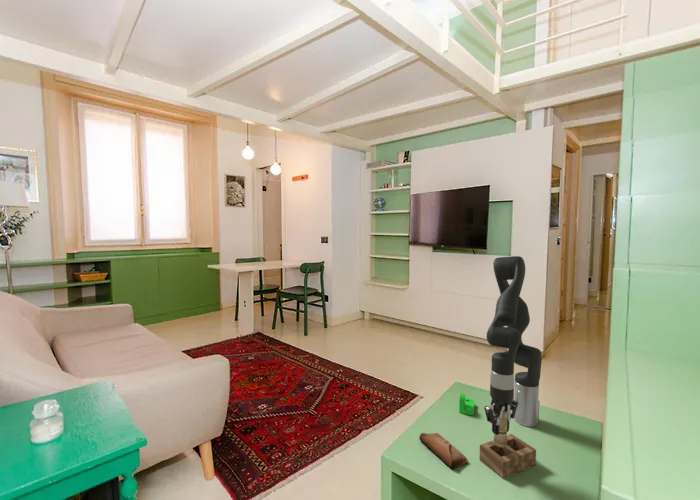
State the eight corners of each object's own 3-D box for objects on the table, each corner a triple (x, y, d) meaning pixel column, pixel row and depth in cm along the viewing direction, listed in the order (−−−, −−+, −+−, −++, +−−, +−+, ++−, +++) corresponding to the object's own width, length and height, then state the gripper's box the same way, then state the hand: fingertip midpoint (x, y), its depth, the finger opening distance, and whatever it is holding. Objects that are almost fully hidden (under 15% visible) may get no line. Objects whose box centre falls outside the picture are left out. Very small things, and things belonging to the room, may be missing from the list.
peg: (499, 438, 118) (500, 406, 117) (509, 445, 114) (510, 411, 113) (491, 441, 116) (492, 408, 115) (500, 448, 112) (501, 414, 112)
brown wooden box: (511, 449, 125) (511, 433, 124) (535, 466, 115) (536, 449, 115) (479, 461, 118) (479, 444, 118) (502, 480, 109) (503, 462, 109)
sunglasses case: (470, 459, 116) (461, 449, 114) (458, 476, 114) (449, 466, 112) (435, 431, 133) (427, 422, 130) (424, 446, 130) (416, 436, 128)
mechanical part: (473, 416, 147) (473, 398, 147) (459, 413, 150) (459, 396, 149) (474, 403, 158) (474, 387, 158) (461, 400, 161) (461, 384, 160)
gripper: (507, 376, 120) (506, 421, 121) (478, 383, 114) (476, 431, 115) (526, 384, 113) (524, 433, 114) (495, 392, 107) (494, 443, 108)
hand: (500, 431), depth 115 cm, fingers closed on peg, 4 cm apart
